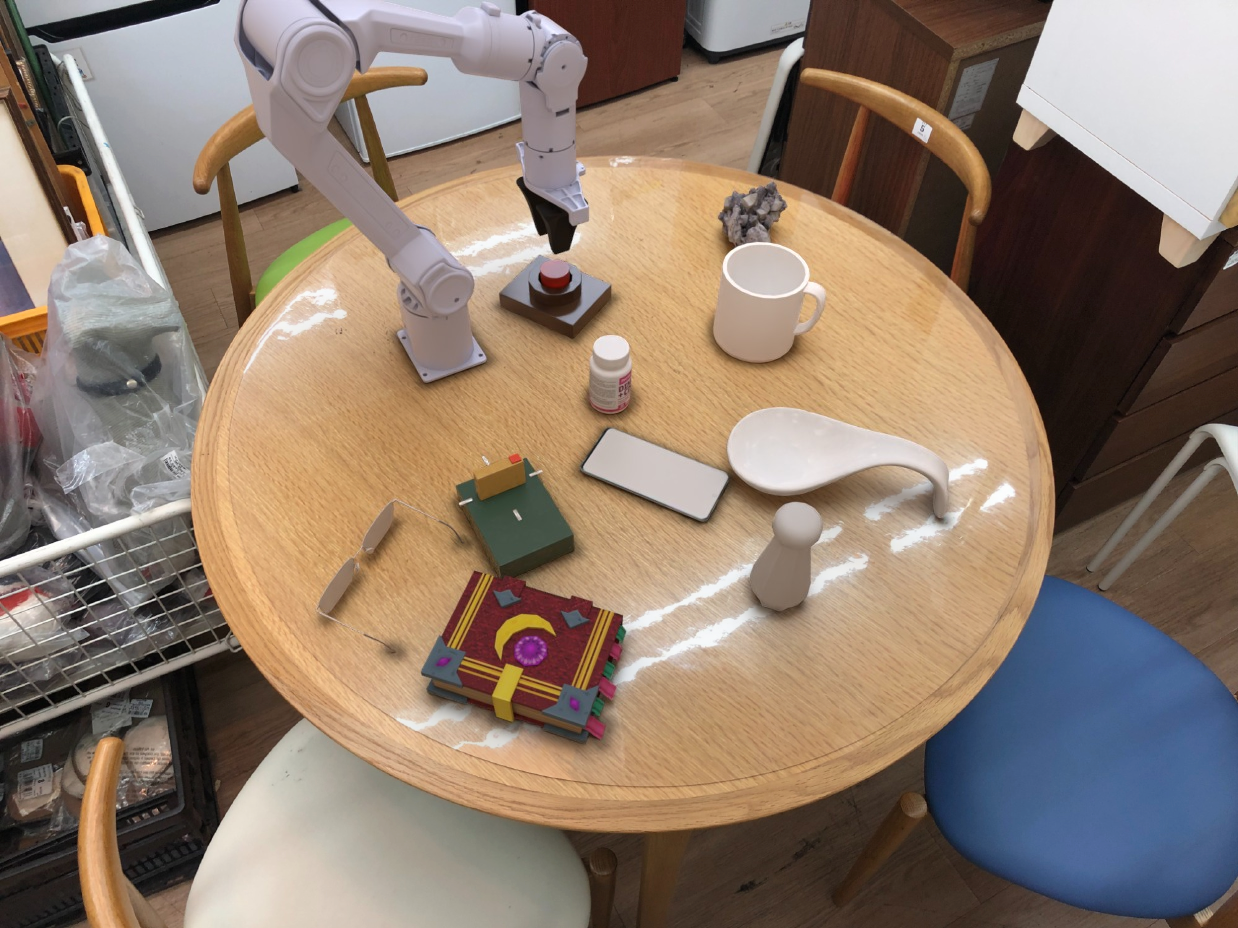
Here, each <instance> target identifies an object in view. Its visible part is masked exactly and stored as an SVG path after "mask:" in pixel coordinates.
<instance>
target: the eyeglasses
mask: <svg viewBox="0 0 1238 928" xmlns="http://www.w3.org/2000/svg"><path fill="white" fill-rule="evenodd" d="M395 502H397V503H398V504H401V505H403V506H405V507H407V508H409V509H412V510H414V511H415V512H418V513H420V514H422V515H424V516H427V517H429V518H431V519H433V520H435V521H437V522H438V523H440V524H442V525H444V526H446V527H448V528H449V529H451V530H452V531H453V533H454V534H455V535H456V537H457V539H458V540H459V542H460V543H462V544H465V542H464V541H463V540H462V538H461V536H460V535H459V534H458V532H457V531H456V530H455V529H454V528H453V527H452V526H451V525H449V524H448V523H446V522H444V521H442V520H441V519H438V518H435V517H433V516H431V515H430V514H428V513H426V512H423V511H422V510H420V509H417V508H415V507H413V506H412V505H409V504H407V503H405V502H404V501H402V500H400V499H397V498H394V499H392V500H391V501H389V502H387V504H386V505H385V506H384V507H383V509H381V511H380V512H379V514H378V515H377V517H375V518H374V520H373V522H372V523H371V525H370V526H369V527H368V529H367V530H366V532H365V534H364V536H363V539H362V542H361V545H360V548H359V549H358V551H357V552H356V553H355V555H354V556H351V557H349V558H348V559H347V560H345V562H344V563H343V564H342V565H341V566H340V568H339V569H338V570H337V571H336V573H335V574H334V575H333V577H332V578H331V580H330V581H329V583H328V585H327V586H326V587H325V589H324V591H323V592H322V594H321V596H320V598H319V600H318V604H316V607H315V609H314V610H315V612H316V613H317V614H319V615H321V616H322V617H325V618H327V619H329V620H331V621H333V622H335V623H337V624H339V625H341V626H344V627H346V628H349V629H350V630H352V631H354V632H357V633H359V634H361V635H363V636H364V637H367V638H369V639H371V640H373V641H376V642H378V643H380V644H382V645H384V646H385V647H387V648H388V649H389V650H391V651H393V652H395V653H396V650H394V649H392V648H391V647H390V646H389V645H387V644H386V643H384V642H383V641H381V640H379V639H377V638H375V637H373V636H371V635H368V634H367V633H363V632H361V631H359V630H357V629H356V628H354V627H351V626H349V625H348V624H345V623H344V622H342V621H340V620H337V619H336V618H334V617H332V616H330V615H329V613H331V611H332V610H333V609H334V608H335V606H336V605H337V604H338V602H339V601H340V600H341V598H342V597H343V596H344V594H345V592H346V590H347V589H348V587H349V586H350V584H351V582H352V581H353V579H354V578H353V577H354V574H355V570H356V574H357V575H358V574H359V573H360V562H358V561H357V562H356V563H355V559H356V557H357V556H358V555H359V553H360V552H361V551H362V550H363V551H364V552H365V553H366V554H367V555H371V554H373V553H374V551H375V549H376V548H377V547H378V545H379V544H380V542H381V541H382V540H383V539H384V537H385V535H386V534H387V532H388V531H389V529H390V528H391V526H392V524H393V521H394V515H395V505H394V503H395ZM319 609H320V611H319Z"/></svg>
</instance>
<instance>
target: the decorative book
mask: <svg viewBox="0 0 1238 928" xmlns="http://www.w3.org/2000/svg"><path fill="white" fill-rule="evenodd" d="M626 634H627V629H626V628H625V627H624V614H621V613H618V612H614V611H611V610H608V609H604V608H601V607H599V606H594V601H593V600H589V599H586V598H583V597H579V596H576V595H574V594H572V595H570V597H569V598H568V597H564V596H561V595H558V594H555V593H551V592H548V591H545V590H541V589H538V588H535V587H532V586H529V585H527V581H526V580H523V579H520V578H516V577H510V576H506V575H505V576H504V578H503V579H502V578H499V576H495V575H491V574H489V573H484V572H481V571H479V570H476V569H475V570H473V572H472V574H471V576H470V578H469V579H468V582H467V584H466V586H465V588H464V590H463V592H462V594H461V596H460V598H459V600H458V601H457V604H456V606H455V608H454V610H453V611H452V614H451V616H450V618H449V620H448V621H447V624H446V626H445V628H444V629H443V632H442V634H441V635H440V634H439V635H438V637H437V639H436V641H435V643H434V645H433V647H432V649H431V650H430V652H429V654H428V656H427V658H426V661H425V662H424V664H423V666H422V668H421V670H420V675H421V676H422V677H425V678H428V679H430V681H429V683H428V684H427V686H426V692H427V693H429V694H433V695H435V696H438V697H442V698H445V699H447V700H451V701H455V702H456V703H459V704H463V705H466V706H467V705H468V704H470V705H474V706H476V707H480V708H483V709H486V710H489V711H492V712H495V717H496V718H499V719H502V720H506V721H509V722H511V723H514V721H515V719H516V720H519V721H522V722H524V723H529V724H532V725H535V726H536V727H537V726H538V727H541V728H543V731H546V732H548V733H551V734H554V735H557V736H560V737H563V738H566V739H568V740H569V739H570V740H572V741H575V742H578V743H581V744H584V745H586V743H587V740H588V737H589V735H590V734H591V735H593V737H596V738H597V739H598V740H602V738H603V735H604V733H605V730H606V726H607V725H606V724H604V723H602V722H601V721H599V720H598V719H597V718H595V717H596V716H597V717H600V716H601V713H602V711H603V708H604V704H605V702H604V700H602V699H601V698H600V697H601V695H602V694H603V696H605V697H607V698H608V699H610V700H611V701H613V699H614V697H615V694H616V691H617V688H618V686H617V685H615V684H614V683H612V682H611V681H610V680H611V679H612V677H613V674H614V671H615V668H616V665H614V664H613V660H614V659H615V660H616V663H617V664H619V661H620V658H621V655H622V653H623V648H622V646H621V645H619V644H620V643H621V644H623V643H624V639H625V637H626ZM608 679H610V680H608Z"/></svg>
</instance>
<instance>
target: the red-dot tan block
mask: <svg viewBox="0 0 1238 928" xmlns="http://www.w3.org/2000/svg"><path fill="white" fill-rule="evenodd" d="M523 459H524V458H523V457H522V455H521V454H520V453H515V454H512V455H508V457H505V458H502V459H500V460H498V461H496V462H492V463H489V464H490V465H487V466H486V465H485V466H482V467H480V468H477V469H475V470H473V471H472V474H473V478H474V481H475V487H476V493H477V495H478V496H479V498H480V500H481V501H482V500H484V499H487V498H489V497H492V496H494V495H497V494H499V493H502V492H504V491H507V490H509V489H511V488H514V487H516V486H519V485H521V484H524V483H526V480H525V469H524V461H523Z"/></svg>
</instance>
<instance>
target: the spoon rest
mask: <svg viewBox="0 0 1238 928" xmlns="http://www.w3.org/2000/svg"><path fill="white" fill-rule="evenodd" d="M726 442H727V443H726V455H727V459H728V463H729V465H730V467H731V469H732V470H733V472H734V473H735V475H737V476H738V478H740V479H741V481H743V482H744V483H745V484H746V485H748V486H749V487H751V488H753V489H755V490H757V491H759V492H761V493H765V494H768V495H772V496H778V497H779V496H780V497H781V496H782V497H788V496H797V495H803V494H807V493H811V492H812V491H815V490H818V489H821V488H823V487H826V486H829V485H831V484H834V483H836V482H838V481H840V480H843V479H845V478H847V477H849V476H852V475H855V474H858V473H861V472H864V471H867V470H870V469H875V468H879V467H900V468H906V469H908V470H911V471H913V472H915V473H918V474H920V475H922V476H923V477H925V478H926V479H927V480H929V482H930V483H931V485H932V486H933V494H932V510H933V514H934V515H935V516H936V517H937V518H940V519H943V518H944V517H945V515H946V513H947V510H948V505H949V482H950V481H949V480H950V479H949V478H950V471H949V467H948V465H947V463H946V462H945V460H944V459H943V458H941V457H940V456H939V455H938V454H936V453H935V452H933V450H931V449H929V448H927V447H925V446H924V445H922V444H919V443H917V442H915V441H912V440H909V439H906V438H903V437H901V436H897V435H893V434H888V433H884V432H879V431H875V430H872V429H867V428H864V427H860V426H856V425H854V424H851V423H847V422H845V421H842V420H839V419H835V418H833V417H829V416H826V415H822V414H821V413H817V412H812V411H810V410H805V409H800V408H795V407H787V406H775V407H774V406H772V407H766V408H761V409H757V410H755V411H752V412H751V413H748V414H746V415H745V416H743V417H742V418H741V419H739V420H738V422H737V423H736V424H735V425H734V426H733V428H732V429H731V431H730V434H729V437H728V439H727V441H726Z"/></svg>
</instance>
